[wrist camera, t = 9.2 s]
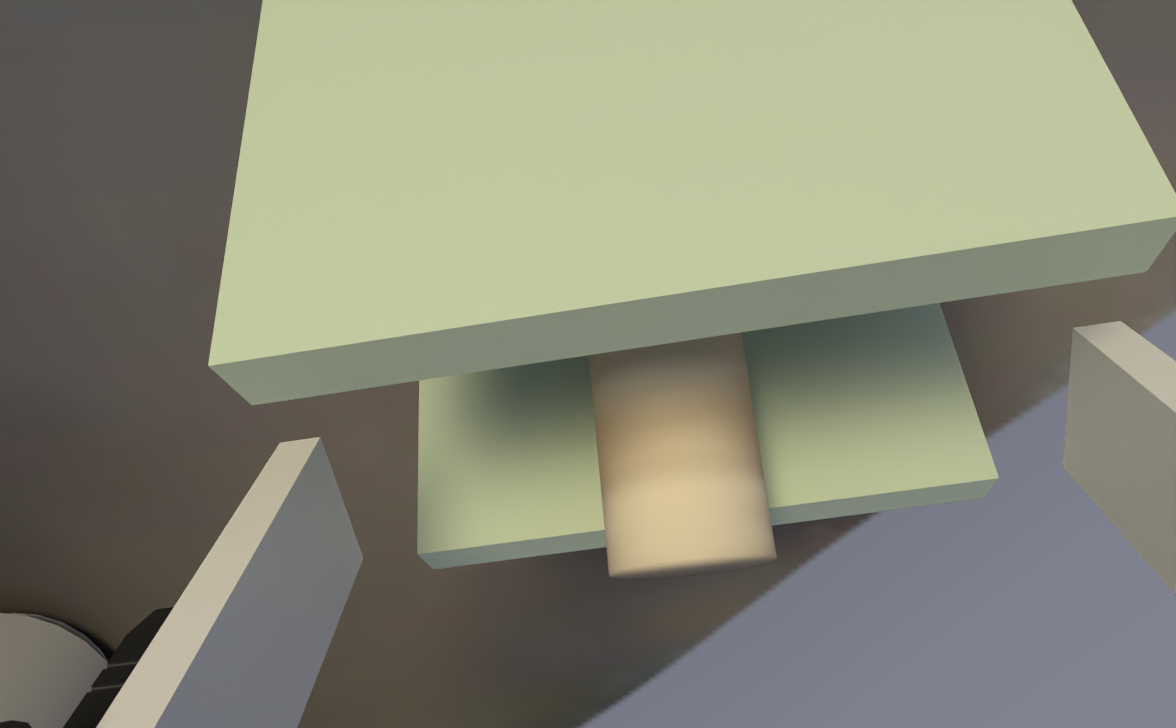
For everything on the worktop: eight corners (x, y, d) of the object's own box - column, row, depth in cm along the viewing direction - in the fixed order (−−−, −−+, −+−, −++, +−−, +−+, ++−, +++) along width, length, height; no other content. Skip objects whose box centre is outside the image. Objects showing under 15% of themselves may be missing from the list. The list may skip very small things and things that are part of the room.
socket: (321, -157, 22) (-152, -321, 8) (872, -272, 21) (1403, -690, 7) (465, 387, 29) (337, 799, 15) (888, 324, 28) (1174, 711, 14)
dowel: (549, 18, 19) (598, 567, 15) (692, -7, 19) (782, 548, 15) (572, 105, 22) (618, 583, 18) (697, 84, 22) (772, 567, 18)
